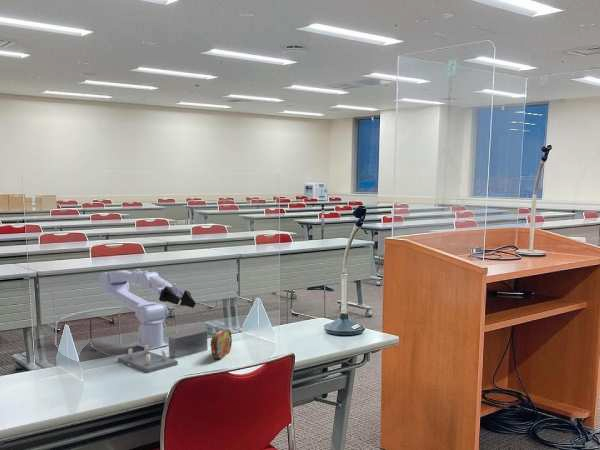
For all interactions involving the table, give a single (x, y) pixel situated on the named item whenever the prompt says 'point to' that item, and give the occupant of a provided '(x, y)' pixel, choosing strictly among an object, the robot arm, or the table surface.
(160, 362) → the tray
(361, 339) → the table surface
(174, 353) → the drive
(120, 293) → the robot arm
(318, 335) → the table surface
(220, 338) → the tin
